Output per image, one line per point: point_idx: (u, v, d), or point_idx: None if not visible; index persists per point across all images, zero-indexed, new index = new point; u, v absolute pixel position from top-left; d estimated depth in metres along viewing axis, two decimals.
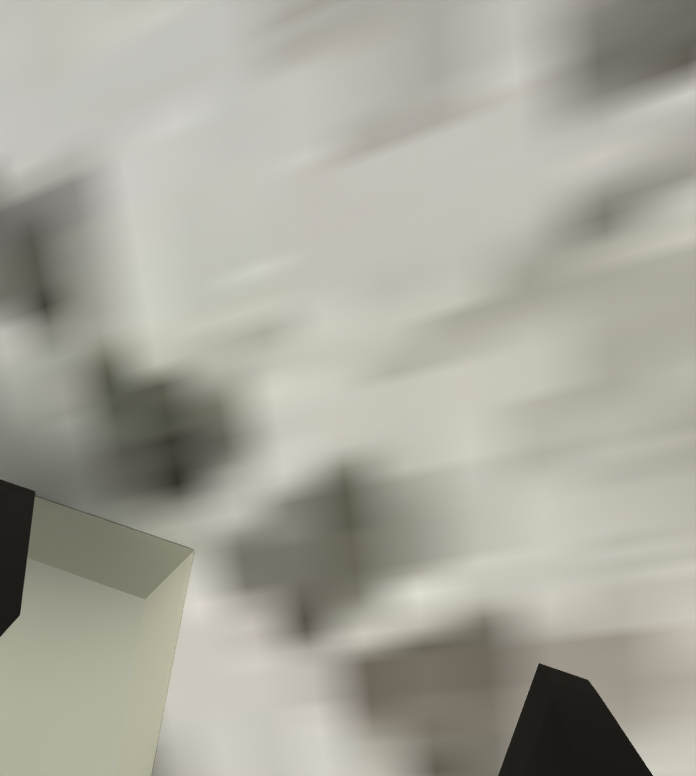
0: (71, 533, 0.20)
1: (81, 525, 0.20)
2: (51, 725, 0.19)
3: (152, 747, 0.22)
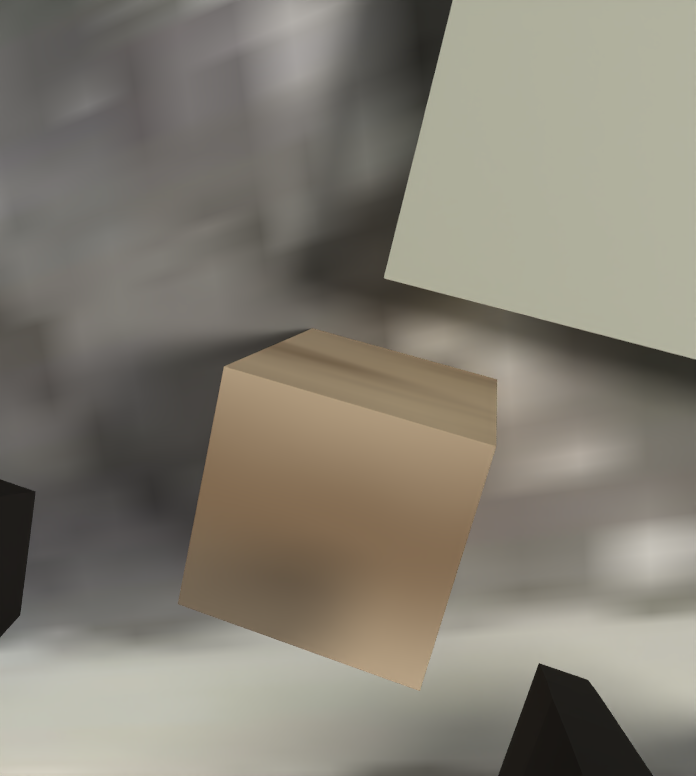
0: None
1: None
2: None
3: None
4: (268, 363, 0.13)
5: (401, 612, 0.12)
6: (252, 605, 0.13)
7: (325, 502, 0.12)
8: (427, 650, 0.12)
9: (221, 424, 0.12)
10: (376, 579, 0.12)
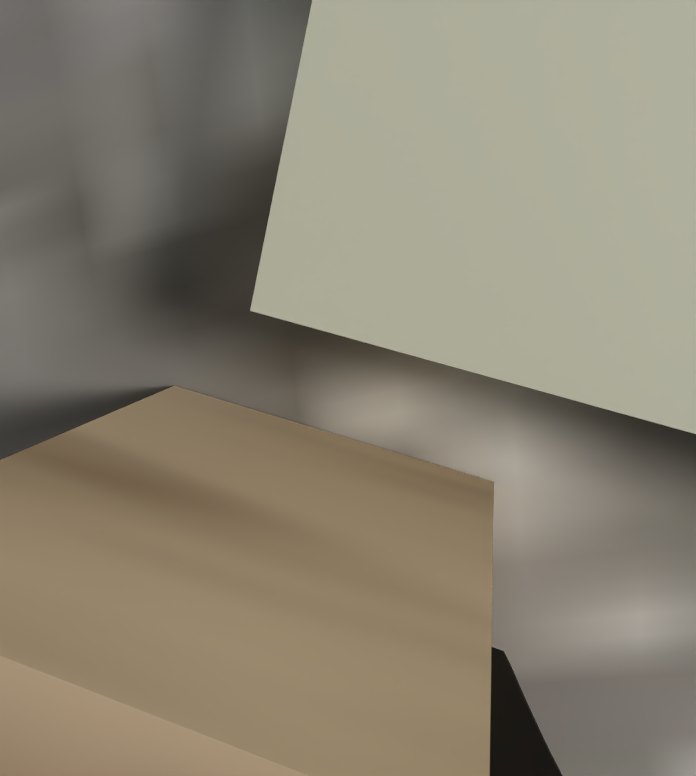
0: None
1: None
2: None
3: None
4: None
5: None
6: None
7: None
8: None
9: None
10: None
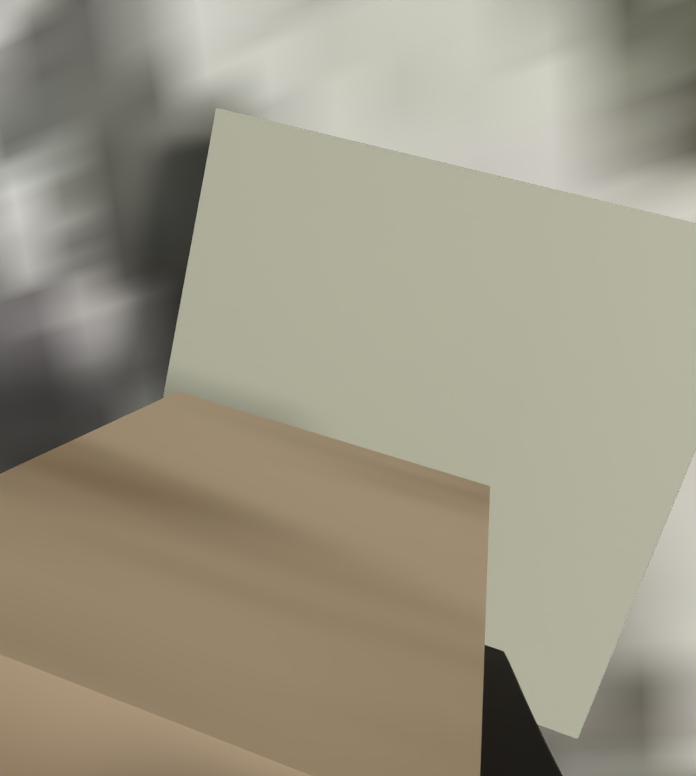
0: None
1: None
2: (566, 463, 0.13)
3: None
4: None
5: None
6: None
7: None
8: None
9: None
10: None
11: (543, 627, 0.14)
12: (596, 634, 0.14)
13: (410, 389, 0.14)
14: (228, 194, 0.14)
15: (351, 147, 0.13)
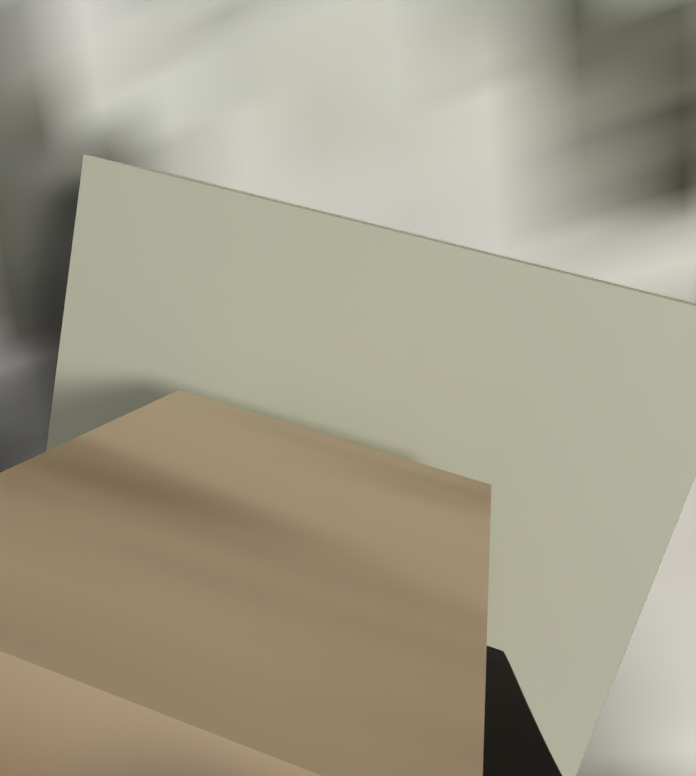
0: (520, 261, 0.12)
1: None
2: (507, 577, 0.11)
3: None
4: None
5: None
6: None
7: None
8: None
9: None
10: None
11: None
12: None
13: None
14: (102, 256, 0.12)
15: (241, 202, 0.11)
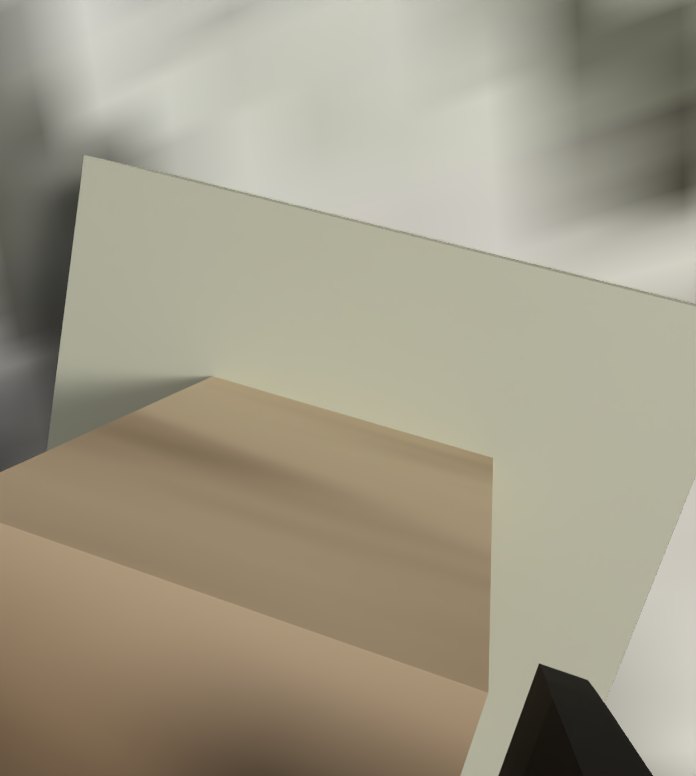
0: (520, 262, 0.12)
1: (517, 260, 0.12)
2: (507, 577, 0.11)
3: None
4: (60, 476, 0.07)
5: None
6: None
7: (147, 769, 0.06)
8: None
9: None
10: None
11: (487, 763, 0.12)
12: None
13: None
14: (103, 256, 0.12)
15: (242, 202, 0.11)
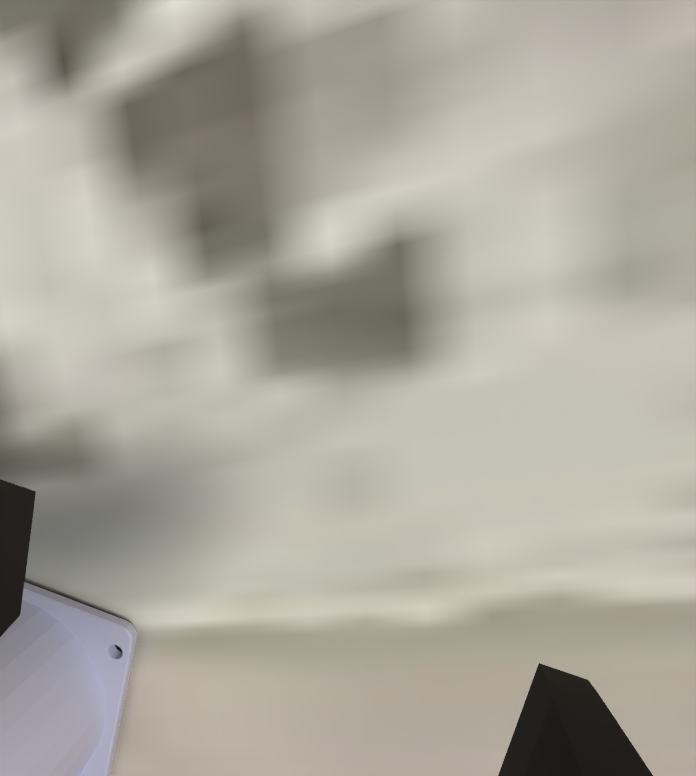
0: None
1: None
2: None
3: None
4: None
5: None
6: None
7: None
8: None
9: None
10: None
11: None
12: None
13: None
14: None
15: None
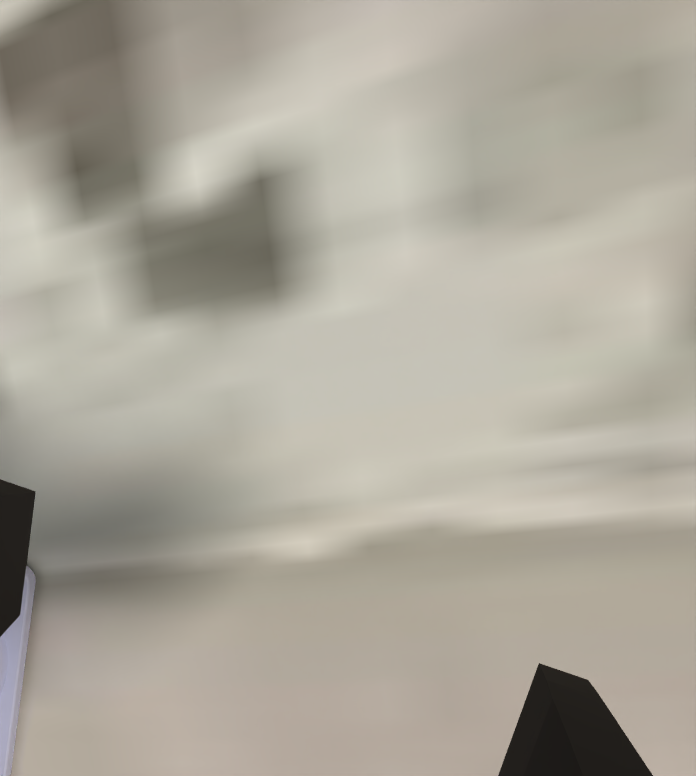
0: None
1: None
2: None
3: None
4: None
5: None
6: None
7: None
8: None
9: None
10: None
11: None
12: None
13: None
14: None
15: None
